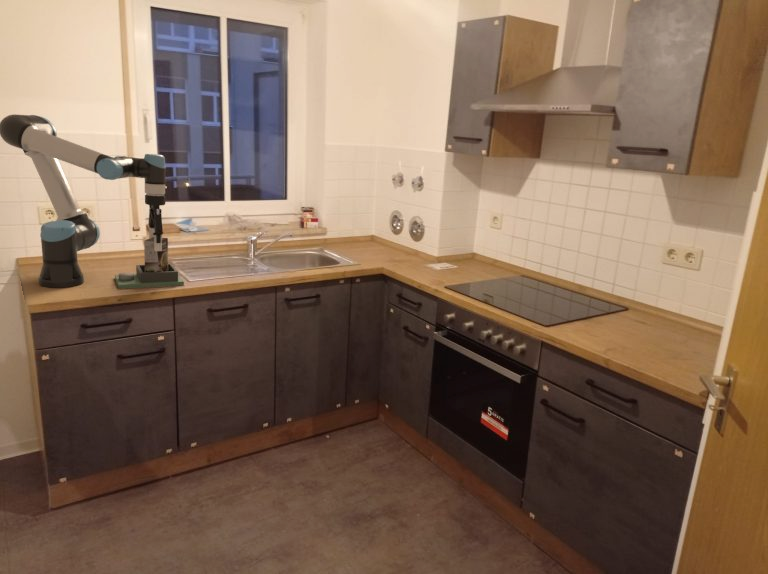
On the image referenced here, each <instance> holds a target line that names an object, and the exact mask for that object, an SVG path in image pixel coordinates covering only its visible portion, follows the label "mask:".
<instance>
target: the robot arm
mask: <svg viewBox="0 0 768 574" xmlns="http://www.w3.org/2000/svg"><path fill="white" fill-rule="evenodd" d="M0 137H1V139H2V140H3V141H4V142H5V143H7V144H8V145H10V146H12V147H14V148H18V149H21V150H22V151H23V153H24V155H25V156H27V157H29V158H30V159H31V160H32V162H33V164H34V167H35V169H36V171H37V173H38V174H37V175H38V176H39V178H40V180H41V183H42V184H43V187H44V189H45V191H46V193H47V196H48V198H49V200H50V202H51V205H52V207H53V209H54V212H55V213H56V215H57V216H56V217H57V219H56V220H55V221H54V220H51V221H47V222H45V223H44V224H42V225H41V226H40V235H39V236H40V242H41V243H40V244H41V254H42V267H41V270H40V272H39V273H40V274H39V277H38V283H39V285H40V286H42V287H45V288H55V289H56V288H71V287H75V286H79V285H82V284H84V282H85V279H84V278H85V277H84V273H83V272H82V270H81V267H80V265H79V263H78V261H79V259H78V252H79V251H83V250H87V249H89V248H91V247H93V246H94V245H96V243H97V242H98V241H99V239H100V233H101V232H100V228H99V226H98V224H97V223H96V222H95V221H94V220H92V219H90V218H89V215H88V213H87V212H86V211H84V210H82V209H81V208H80V206H79V203H78V201H77V199H76V197H75V194H74V192H73V189H72V188H71V185H70V183H69V181H68V179H67V176H66V173H65V171H64V170H63V167H62V165H61V163H60V161H62V162H65V163H67V164H70V165H72V166H76V167H79V168H82V169H84V170H87V171H90V172H93V173H95V174H98V175H99V177H100V178H102V179H104V180H106V181H107V180H109V181H113V180H114V181H115V180H118V179H124V178H140V179H144V194H145V195H144V203H145V205H146V206H147V205H148V206H149V212H148V228H149V230H148V231H149V232H148V235H149V236H148V237H149V238H148V239H150V238H152V237H154V251H162V238H163V234H164V232H163V220H162V219H163V217H162V211H163V210H162V209H161V208H160V206H165V205H166V195H165V194H166V189H167V188H168V186H166V158H165V156H164V155H162V154H156V153H145V154H144V157H142V158H138V157H133V156H131V157H130V156H126V155H122V156H121V155H117V156H114V157H112V156H110V155H107V154H105V153H102V152H98V151H96V150H93V149H90V148H88V147H85V146H83V145H81V144H77V143H75V142H71V141H69V140H67V139H64V138H60V137H59V136H58V134H57V130H56V128H55V126H54V124H53V123H52V122H51V121H50V120H49V119H48V118H46V117H43V116H41V115H35V114H29V115H28V114H9V115H7V116H5V117H4V118H2V119H1V121H0Z"/></svg>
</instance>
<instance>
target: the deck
mask: <svg viewBox="0 0 768 574" xmlns="http://www.w3.org/2000/svg"><path fill="white" fill-rule="evenodd" d="M135 268H136V269H135V270H136V273H132V272H121V273H119V274H114V279H115V281H116V285H117V287H118V289H119V290H120V289H138V288H155V287H173V285H178V286H184V285H185V284H184V283H185V281H184V280H183V279H182V277H181V276H180V275H179V271H178V270H177V268H176V267H175V266H174V265H173V263H168V271H167V272H145V264H136V265H135Z"/></svg>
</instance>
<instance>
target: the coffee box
mask: <svg viewBox="0 0 768 574" xmlns="http://www.w3.org/2000/svg"><path fill="white" fill-rule="evenodd" d="M143 242H144V243H143V244H144V246H143V249H144V252H143V253H144V265H145V272H167V271H168V264H169V240H168V237H162V251H154V237H152V238H150V239H149V238H147V239H144V240H143Z"/></svg>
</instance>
